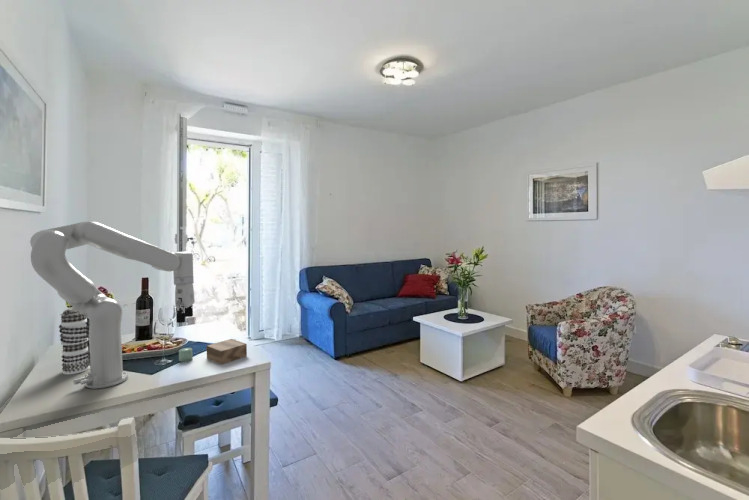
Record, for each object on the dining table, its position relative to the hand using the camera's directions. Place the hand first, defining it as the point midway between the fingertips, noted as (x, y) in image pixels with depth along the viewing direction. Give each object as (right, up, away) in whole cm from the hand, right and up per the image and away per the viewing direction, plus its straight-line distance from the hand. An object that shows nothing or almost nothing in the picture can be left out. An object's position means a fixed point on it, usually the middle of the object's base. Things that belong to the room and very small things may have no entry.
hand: (185, 319), depth 151 cm
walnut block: (+17, -18, +4) cm, 25 cm away
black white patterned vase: (-38, -19, -11) cm, 44 cm away
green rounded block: (0, -18, +1) cm, 18 cm away
